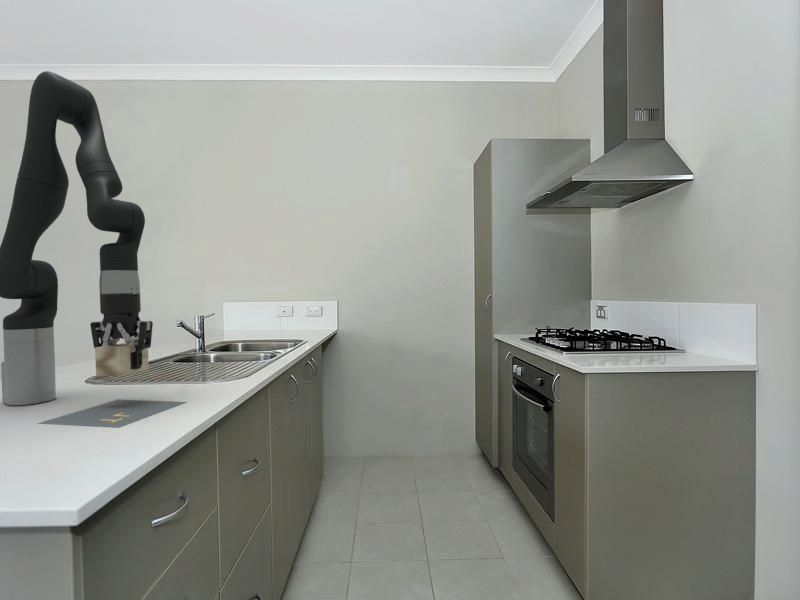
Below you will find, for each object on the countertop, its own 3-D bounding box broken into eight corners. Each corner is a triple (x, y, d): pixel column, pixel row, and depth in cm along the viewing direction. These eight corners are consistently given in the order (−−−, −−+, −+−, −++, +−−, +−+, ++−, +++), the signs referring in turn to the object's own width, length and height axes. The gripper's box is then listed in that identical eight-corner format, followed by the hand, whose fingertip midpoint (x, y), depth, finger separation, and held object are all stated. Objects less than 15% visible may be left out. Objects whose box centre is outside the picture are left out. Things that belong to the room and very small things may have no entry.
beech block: (96, 375, 96) (95, 347, 96) (125, 369, 104) (124, 342, 104) (120, 376, 95) (119, 347, 95) (148, 369, 103) (147, 342, 103)
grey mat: (37, 425, 86) (37, 423, 86) (118, 401, 105) (118, 399, 105) (118, 430, 82) (118, 427, 82) (187, 404, 101) (187, 401, 101)
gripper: (77, 292, 97) (80, 371, 97) (135, 291, 94) (138, 372, 94) (106, 292, 104) (109, 365, 105) (161, 291, 101) (164, 366, 102)
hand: (123, 368), depth 100 cm, fingers closed on beech block, 6 cm apart
